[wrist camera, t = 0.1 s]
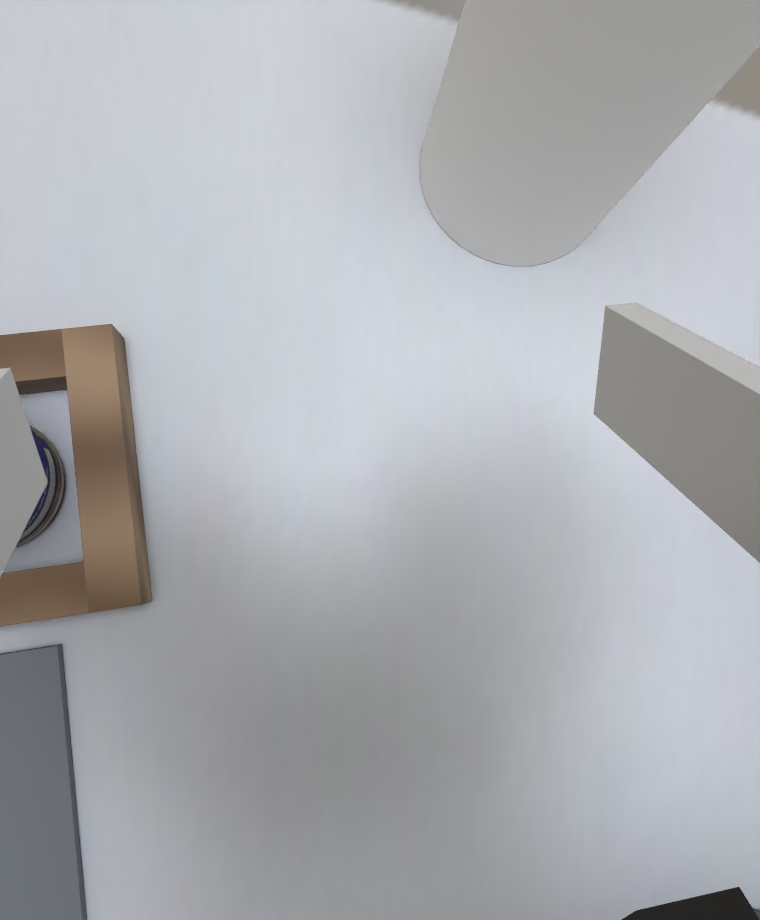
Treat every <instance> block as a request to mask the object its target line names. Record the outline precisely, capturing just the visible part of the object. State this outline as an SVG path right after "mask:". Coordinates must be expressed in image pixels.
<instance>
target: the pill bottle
mask: <svg viewBox="0 0 760 920" xmlns="http://www.w3.org/2000/svg"><path fill="white" fill-rule="evenodd" d="M29 426H30V425H29ZM30 429H31V432H32V435H33V438H34V441H35V445H36V448H37V451H38V454H39V457H40V460H41V463H42V466H43V469H44V472H45V475H46V478H47V481H48V483H47V485H46V487H45V489H44V491H43V493H42V495H41V497H40V499H39V501H38V503H37V505H36V507H35V509H34V511H33V513H32V515H31V517H30V519H29V521H28V523H27V525H26V527H25V529H24V531H23V533H22V535H21V537H20V539H19V541H18V543H17V545H16V547H17V546H20V545H22V544H24V543H26V542H27V541H29V540H31V539H32V538H34V537H35V536H36V535H38V534H39V533H40V532H41V531H42V530H43V529H44V528H45V527H46V526H47V525H48V524H49V522H50V521H51V519H52V518H53V516H54V515H55V513H56V511H57V509H58V507H59V504H60V502H61V498H62V494H63V488H64V474H63V468H62V464H61V461H60V459H59V456H58V454H57V452H56V450H55V449H54V447H53V446H52V444H51V443H50V442H49V440H48V439H47V438H46V437H45V436H44V435H43V434H42V433H40V432H39V431H38V430H36V429H35V428H33V427H32V426H30Z"/></svg>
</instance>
